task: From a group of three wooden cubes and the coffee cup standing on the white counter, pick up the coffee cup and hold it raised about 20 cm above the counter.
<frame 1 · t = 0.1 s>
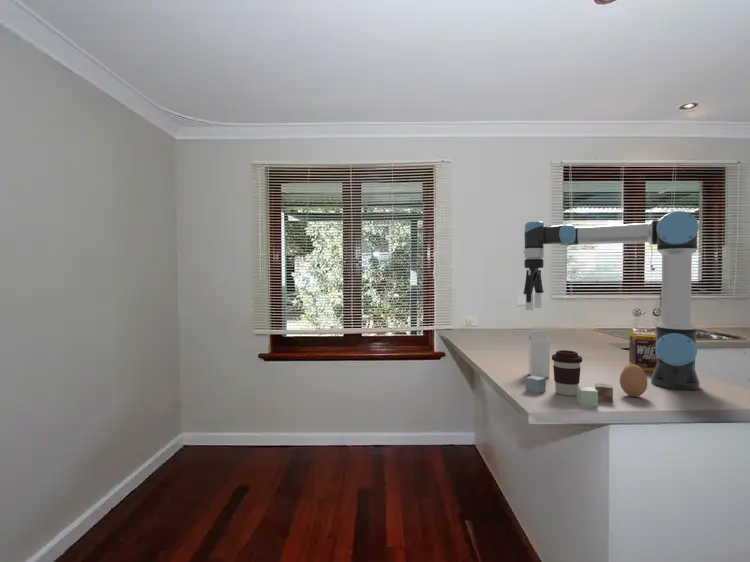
hand: (533, 309, 181), 28 cm above the worktop, fingers open, 13 cm apart
walnut cube: (603, 399, 146), on the worktop
sage painted cube: (587, 403, 142), on the worktop
egg: (633, 397, 150), on the worktop
coffee cup: (566, 393, 154), on the worktop
slate painted cube: (535, 391, 157), on the worktop
supplement box: (644, 368, 195), on the worktop
milk carton: (538, 376, 181), on the worktop
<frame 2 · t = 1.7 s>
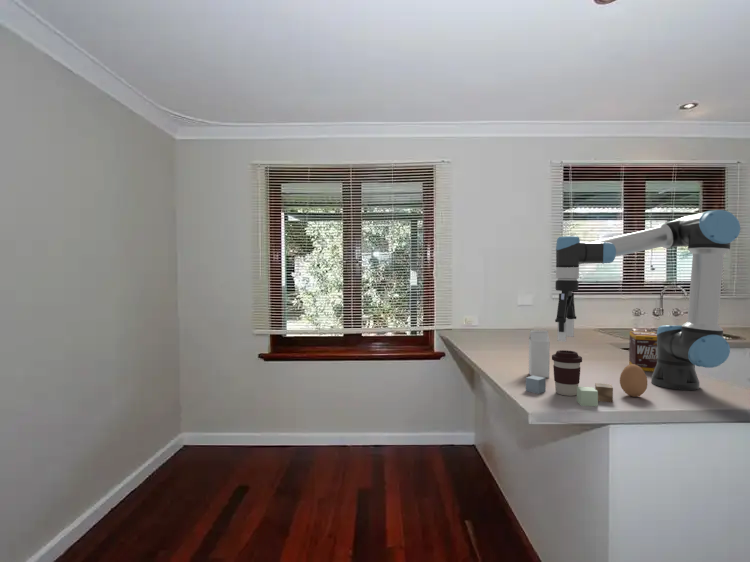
hand: (565, 338, 154), 20 cm above the worktop, fingers open, 13 cm apart
nothing on the worktop moved.
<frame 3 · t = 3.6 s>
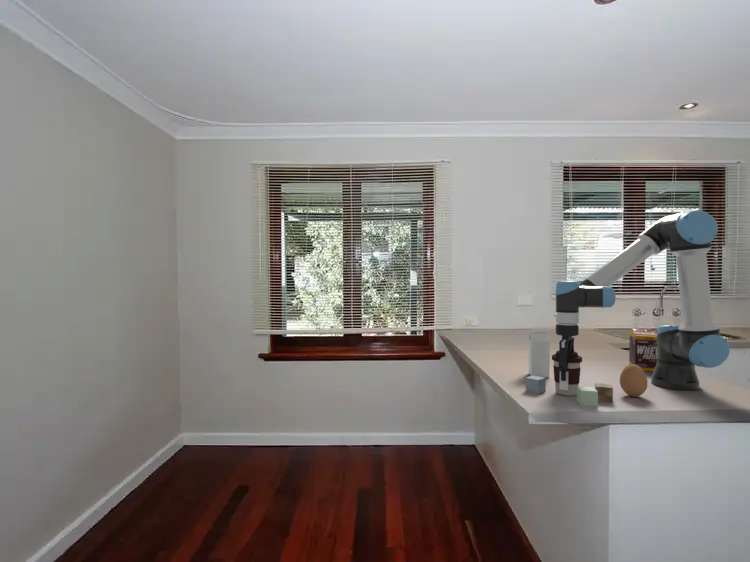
hand: (566, 386, 154), 2 cm above the worktop, fingers closed on coffee cup, 9 cm apart
coffee cup: (566, 393, 154), on the worktop, touching gripper
everything else where it was.
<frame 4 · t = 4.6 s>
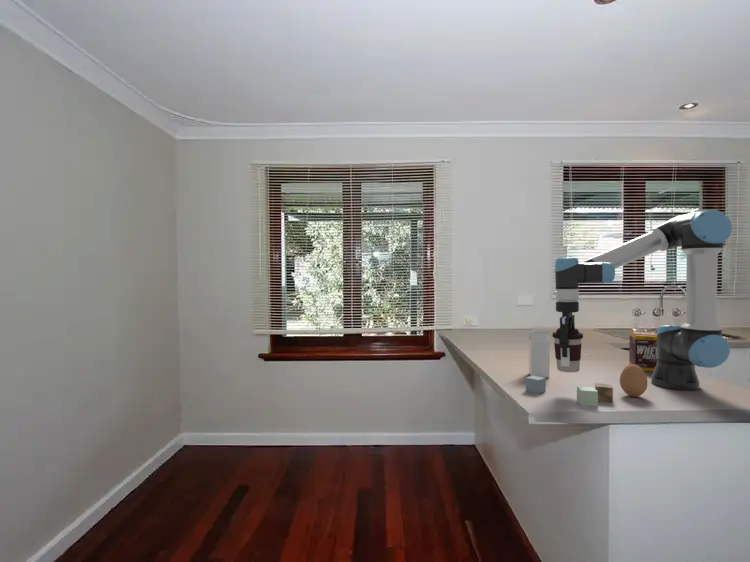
hand: (568, 363, 154), 11 cm above the worktop, fingers closed on coffee cup, 9 cm apart
coffee cup: (568, 371, 154), point 8 cm above the worktop, touching gripper
everything else where it was.
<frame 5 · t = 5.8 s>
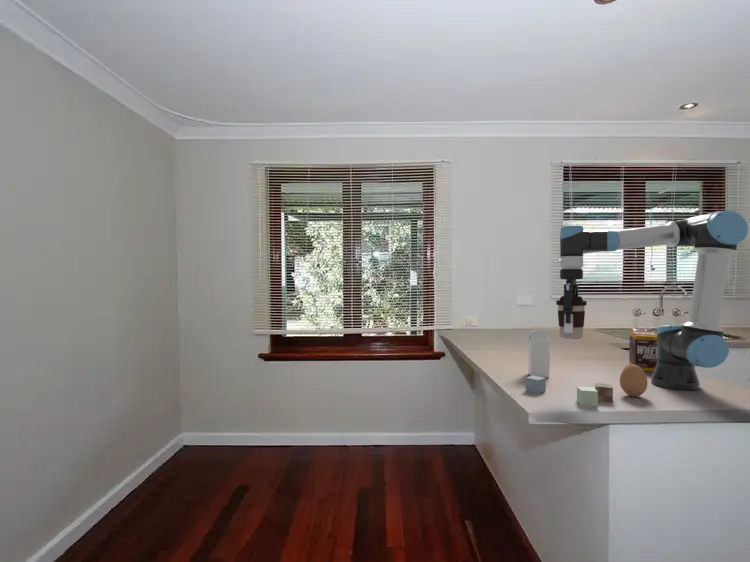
hand: (571, 330, 155), 22 cm above the worktop, fingers closed on coffee cup, 9 cm apart
coffee cup: (571, 338, 155), point 20 cm above the worktop, touching gripper
everything else where it was.
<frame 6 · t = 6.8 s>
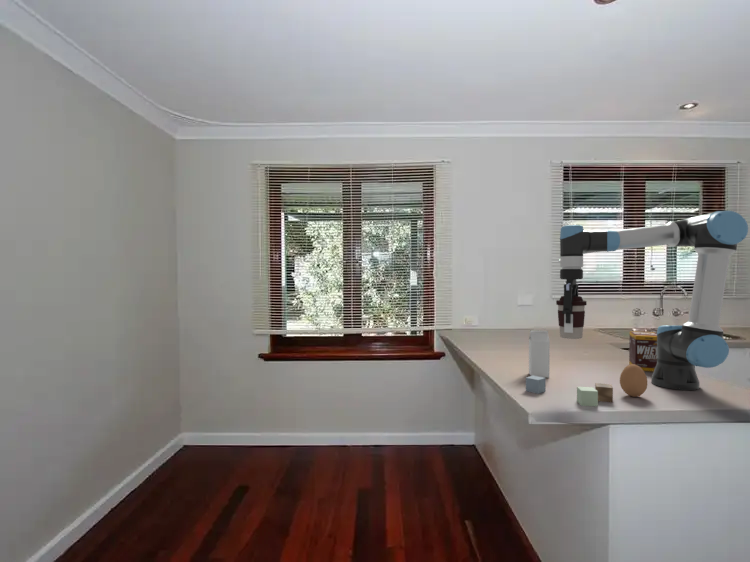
hand: (571, 330, 155), 22 cm above the worktop, fingers closed on coffee cup, 9 cm apart
coffee cup: (571, 338, 155), point 20 cm above the worktop, touching gripper
everything else where it was.
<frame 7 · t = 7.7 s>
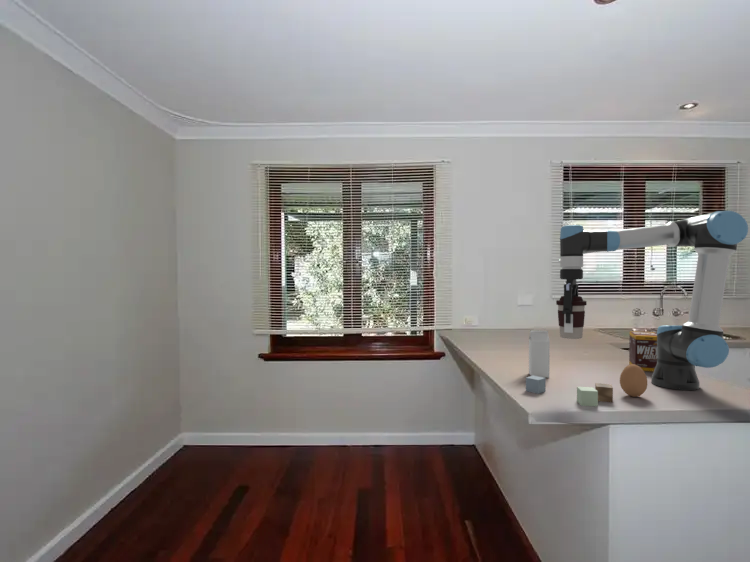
hand: (571, 330, 155), 22 cm above the worktop, fingers closed on coffee cup, 9 cm apart
coffee cup: (571, 338, 155), point 20 cm above the worktop, touching gripper
everything else where it was.
at the end: the gripper is holding coffee cup; coffee cup point 19.7 cm above the worktop; sage painted cube moved 0.1 cm from its start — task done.
